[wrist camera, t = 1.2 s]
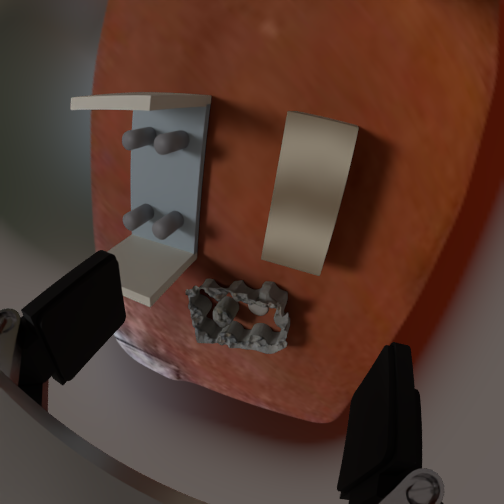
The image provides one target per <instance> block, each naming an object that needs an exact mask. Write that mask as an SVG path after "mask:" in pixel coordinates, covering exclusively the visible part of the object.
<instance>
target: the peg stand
mask: <svg viewBox="0 0 504 504" xmlns="http://www.w3.org/2000/svg"><path fill="white" fill-rule="evenodd" d="M211 97H212V96H210V95H198V94H182V93H157V92H133V93H115V94H102V95H91V96H81V97H73V98H71V110H87V109H89V110H90V109H113V110H133V121H132V130H130V131H127V132H125V133H124V135H123V137H122V143H123V146H124V147H125V148H126V149H127V150H131V211H130V212H128V213H127V214H125V215H124V216H123V223H124V225H125V227H126V228H127V229H128V230H131V231H132V235H131V236H129V237H128V238H126V239H125V240H123V241H122V242H120V243H119V244H118V245H116V246H115V247H113V248H112V249H110V250H109V251H108V253H111V254H113V255H115V257H116V260H117V261H118V263H119V270H120V279H121V286H122V293H123V296H125V297H127V298H130V299H132V300H134V301H137V302H139V303H142V304H144V305H146V306H149V307H151V306H152V305H153V304H154V303H155V302H156V301H157V300H158V299H159V297H160V296H161V295H162V294H163V293H164V292H165V291H166V290H167V289H168V288H169V287H170V286H171V285H172V284H173V283H174V282H175V281H176V280H177V279H178V277H179V276H180V275H181V274H182V273H183V272H184V271H185V270H186V269H187V268H188V267H189V266H190V265H191V264H192V263H193V262H194V261H195V260H196V259H197V248H198V232H199V217H200V204H201V192H202V180H203V169H204V159H205V149H206V139H207V130H208V121H209V113H210V105H211Z"/></svg>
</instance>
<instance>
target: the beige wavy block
mask: <svg viewBox="0 0 504 504" xmlns="http://www.w3.org/2000/svg"><path fill="white" fill-rule="evenodd" d="M358 129H359V127H358V126H357V125H354V124H350V123H346V122H343V121H339V120H335V119H330V118H326V117H322V116H317V115H313V114H308V113H304V112H299V111H288V112H287V118H286V124H285V129H284V135H283V141H282V146H281V152H280V158H279V163H278V169H277V175H276V180H275V186H274V191H273V197H272V202H271V208H270V213H269V219H268V224H267V230H266V235H265V241H264V246H263V251H262V257H261V259H262V260H266V261H269V262H273V263H276V264H279V265H283V266H286V267H290V268H293V269H297V270H300V271H304V272H307V273H311V274H314V275H318V276H320V273H321V270H322V267H323V263H324V260H325V257H326V253H327V250H328V247H329V243H330V240H331V236H332V233H333V229H334V226H335V222H336V219H337V215H338V211H339V208H340V204H341V200H342V196H343V192H344V189H345V185H346V181H347V177H348V173H349V169H350V164H351V160H352V156H353V152H354V147H355V143H356V138H357V134H358Z"/></svg>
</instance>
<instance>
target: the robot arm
mask: <svg viewBox="0 0 504 504" xmlns="http://www.w3.org/2000/svg"><path fill="white" fill-rule="evenodd" d="M21 311H22V313H23V317H20V315H19V313H18V312H17V311H16V310H14V309H9V308H7V309H2V310H0V504H208V503H206V502H203V501H200V500H198V499H195V498H193V497H190V496H188V495H185V494H183V493H181V492H178V491H176V490H174V489H172V488H170V487H167V486H165V485H163V484H161V483H159V482H157V481H155V480H153V479H151V478H149V477H147V476H145V475H143V474H141V473H139V472H137V471H135V470H134V469H132V468H130V467H128V466H126V465H125V464H123V463H121V462H119V461H118V460H116V459H114V458H113V457H111V456H109V455H108V454H106V453H104V452H103V451H101V450H100V449H98V448H97V447H95V446H94V445H92V444H90V443H89V442H87V441H86V440H84V439H83V438H82V437H80V436H79V435H77V434H76V433H74V432H73V431H72V430H70V429H69V428H68V427H66V426H65V425H64V424H62V423H61V422H60V421H58V420H57V419H56V418H54V417H53V416H52V415H51V414H49V413H48V379H49V378H50V377H51V376H52V377H53V379H55V380H56V381H57V382H59V383H60V384H62V385H64V384H65V383H66V381H70V380H72V379H73V378H74V377H75V375H76V374H77V373H78V372H79V371H80V370H81V369H82V368H83V367H84V365H85V364H86V363H87V362H88V361H89V360H90V359H91V358H92V357H93V355H94V354H95V353H96V352H97V351H98V350H99V349H100V348H101V347H102V346H103V345H104V344H105V342H106V341H107V340H108V339H109V338H110V337H111V336H112V335H113V334H114V333H115V332H116V331H117V330H118V329H119V328H120V326H121V325H122V324H123V323H124V321H125V318H126V313H125V307H124V300H123V293H122V286H121V279H120V270H119V263H118V261H117V260H116V257H115V255H113V254H111V253H108V252H106V251H103V250H100V251H98V252H96V253H95V254H93V255H92V256H91V257H90V258H88V259H86V260H85V261H84V262H82V263H81V264H80V265H78V266H77V267H75V268H74V269H73V270H71V271H70V272H69V273H67V274H66V275H65V276H63V277H62V278H61V279H59V280H58V281H57V282H55V283H54V284H53V285H52V286H51V287H49V288H48V289H46V290H45V291H44V292H43V293H41V294H40V295H39V296H38V297H36V298H35V299H34V300H33V301H32V302H30V303H29V304H28V305H27V306H25V307H24V308H23V309H22V310H21ZM337 490H338V491H341V495H340V499H346V500H349V504H443V503H442V500H443V496H444V484H443V481H442V479H441V478H440V476H439V475H438V474H437V473H436V472H434V471H433V470H430V469H427V468H424V469H422V421H421V404H420V394H419V392H418V390H416V389H415V388H414V377H413V365H412V356H411V349H410V347H409V346H408V345H404V344H399V343H395V342H393V343H391V345H390V346H388V345H385V346H384V348H383V349H382V351H381V353H380V354H379V356H378V358H377V359H376V361H375V362H374V364H373V366H372V367H371V369H370V370H369V372H368V373H367V375H366V377H365V378H364V380H363V381H362V383H361V384H360V386H359V387H358V389H357V390H356V391H355V393H354V395H353V397H352V400H351V405H350V414H349V421H348V428H347V435H346V441H345V447H344V453H343V459H342V464H341V470H340V475H339V480H338V485H337Z"/></svg>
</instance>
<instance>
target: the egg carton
mask: <svg viewBox="0 0 504 504" xmlns="http://www.w3.org/2000/svg"><path fill="white" fill-rule="evenodd" d="M201 289H204V290H205V292H206V293H208V294H209V296H210V297H213V298H215V299H216V301H219V302H218V304H217V303H216V304H217V305H216V307H215V308H214V310H213V320H214V321H213V320H212V319H210V318H207V316H206V315H207V314H208V312H209V311H210V309H211V308H212V303H211V301H210V299H209V298H208V297H206V296H204V295H201V294H200V290H201ZM228 292H230V293H231V295H232V297H233V298H234V299H233V298H231V297H227V296H226V295H227V294H228ZM186 295H188V297H189V305H188V309H190V311H191V319H192V324H193V327H194V328H195V335H196V340H197V342H198V343H212V344H213V343H219V344H220V345H224V344H226V345H228V347H229V348H242V349H252V350H256V351H260V352H263V353H266V354H272V353H275V352H277V351H279V350H281V349H283V348H285V347H286V346H287V342H286V341H285V340H286V338H287V333H288V330H289V327H290V318H289V317H288V312H287V313H284V309H285V306H286V303H287V300H288V293H287V292H286V291H283V290H281V289H279V288H278V287H277V286H276V284H275V283H274V282H264V284H263V286H262V288H261V289H258V290H254V289H251V288H249V287H247V286H246V285H245V283H244V281H243V280H241V281H234V282H233V283H232V284H231V285H230V287H229V288H222V287H220V286H219V285H218V284H217V283H216V282H215V280H214V279H206V280H205V282H204V284H203V285H201V286H200V287H197V286H194V287H193V288H192V289H190V290H186ZM225 296H226V297H225ZM238 301H242V302H244V303H247V304H248V307H249V309H250V311H251V312H252V313H254V314H256V315H259V316H262V315H265V314H266V313H267V312H268V307H270V308H276V309H277V310H276V313H275V316H274V321H275V323H276V325H277V326H278V327H280V328H281V332H272V329H271V328H270V327H269V326H268V325H266V324H264V323H257V324H255V325H254V326H253V328H252V330H247V329H244V328H243V326H242V325H241V324H240V323H239V322H237V321H233V319H234V317H235V316H236V314H237V312H238V310H239V304H238ZM216 323H217V324H218V325H219V326H217V324H216Z"/></svg>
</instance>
